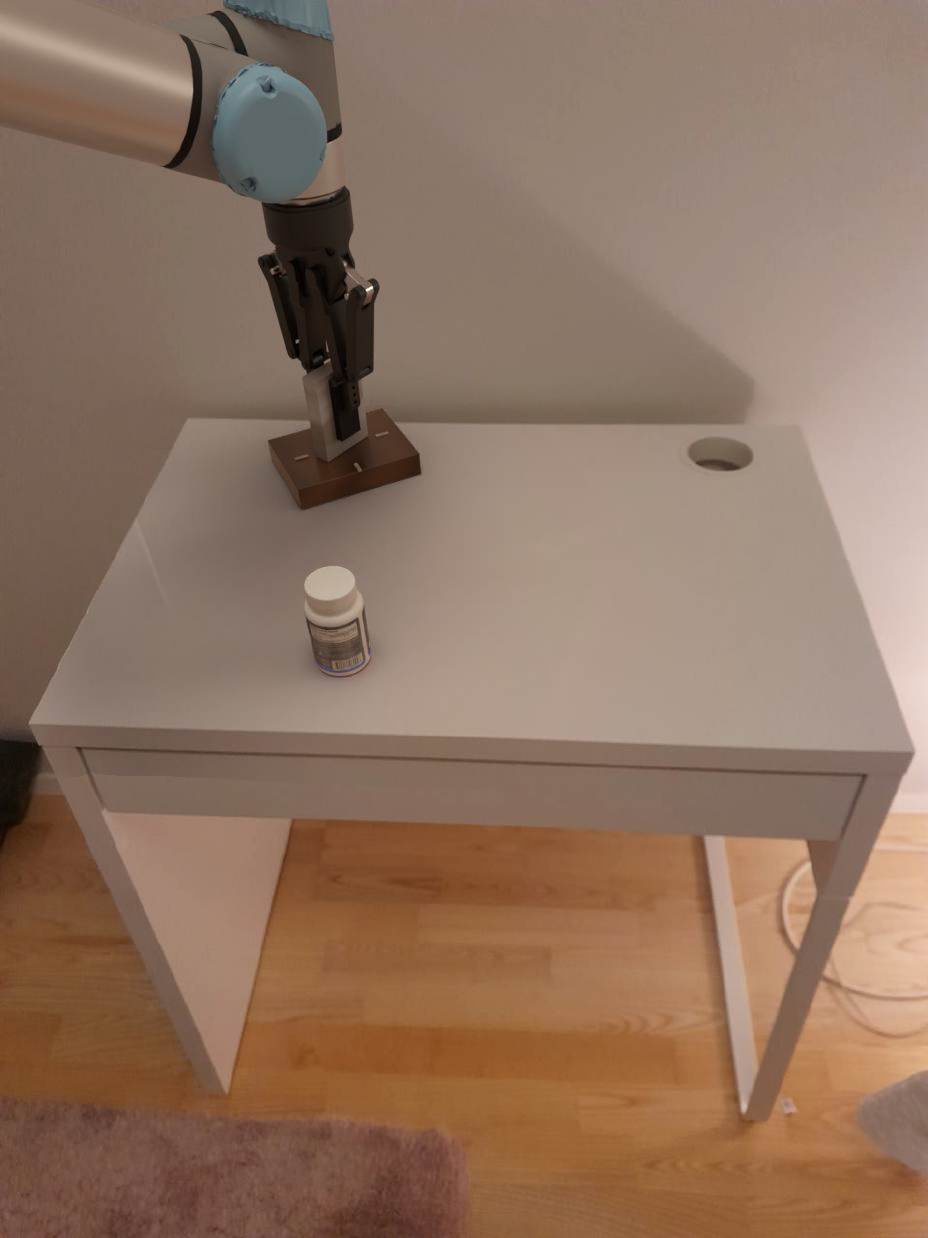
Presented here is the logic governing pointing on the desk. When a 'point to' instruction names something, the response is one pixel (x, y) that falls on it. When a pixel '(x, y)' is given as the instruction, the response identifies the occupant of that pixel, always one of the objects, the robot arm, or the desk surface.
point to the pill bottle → (336, 621)
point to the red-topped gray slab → (328, 415)
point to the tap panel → (345, 462)
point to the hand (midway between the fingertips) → (339, 430)
